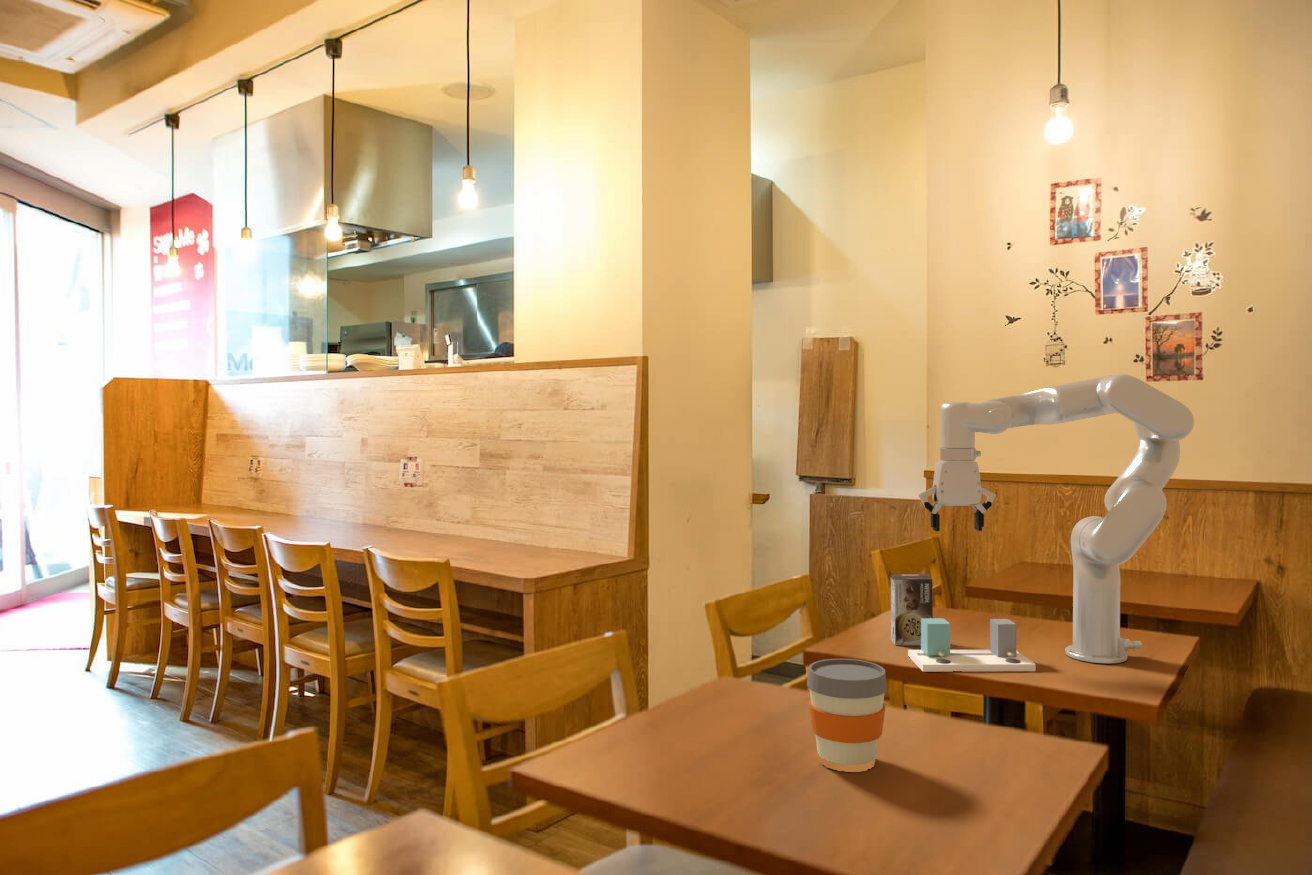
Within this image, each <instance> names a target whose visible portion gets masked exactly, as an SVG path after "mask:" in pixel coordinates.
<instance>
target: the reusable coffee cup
mask: <svg viewBox="0 0 1312 875" xmlns="http://www.w3.org/2000/svg"><path fill="white" fill-rule="evenodd" d="M806 679H807V681H806V686H807V688H808V689H809V696H810V699H809V700H808V707H809V708H808V709H809V715H810V716H809V717H810V723H811V731H812V732H813V734H814V736H815V742H816V749H817V751H816V752H817V755H818V754H819V756H820V757H821V758H823V759H825V760H827V761H831V762H835V763H840V764H846V765H858V764H866V763H868V762H871V761H874V760H875V759H876V760H877V754H878V748H879V747H878V746H879V739H880V737H882V736H883V728H884V722H885V721H884V720H885V714H886V713H885V712H886V704H885V703H884V701H885V700H884V699H885V693H887V690H888V686H887V683H888V682H887V675H886V669H885V668H884V667H882V666H881V665H879V664H877V663H874V662H870V661H866V660H860V659H855V658H853V659H852V658H830V659H829V658H827V659H822V660H817V661H814V662H812V663H810V664H809V665H808V671H807V678H806Z"/></svg>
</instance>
